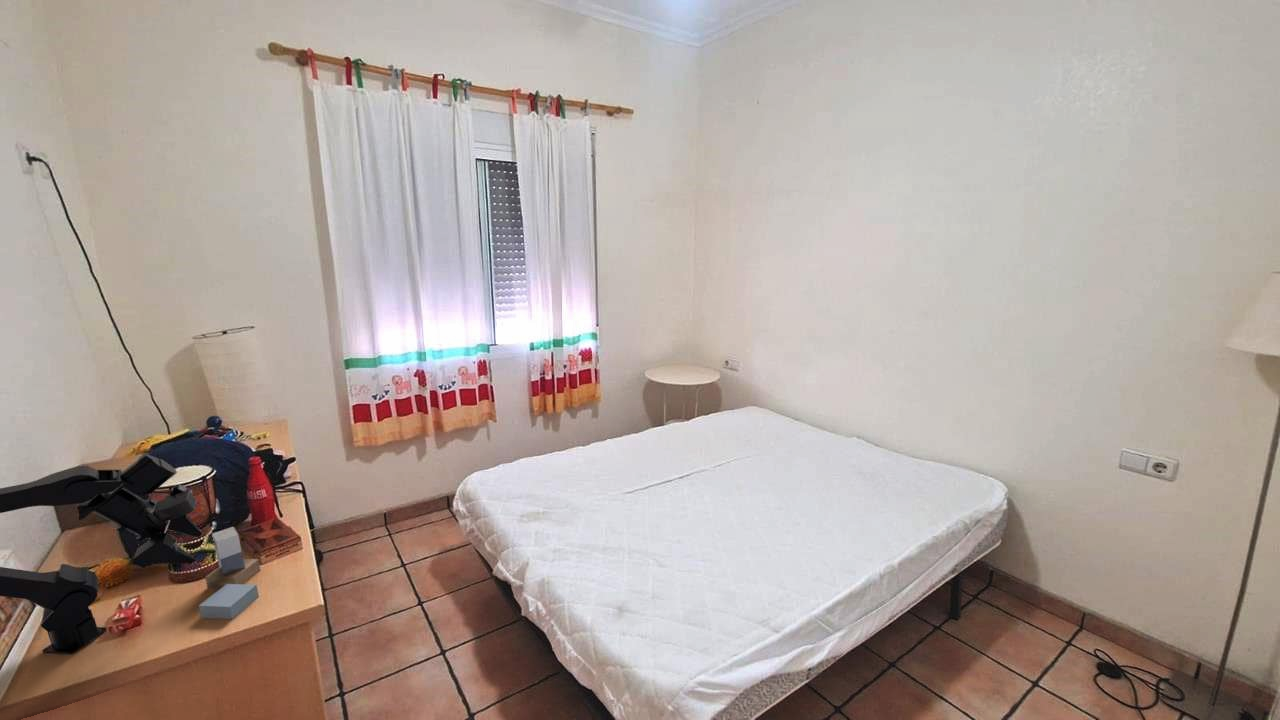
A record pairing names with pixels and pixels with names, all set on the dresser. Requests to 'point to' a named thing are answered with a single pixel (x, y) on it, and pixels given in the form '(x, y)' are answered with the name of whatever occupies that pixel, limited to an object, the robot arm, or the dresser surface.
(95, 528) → the dresser surface
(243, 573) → the stand
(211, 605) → the stand
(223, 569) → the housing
